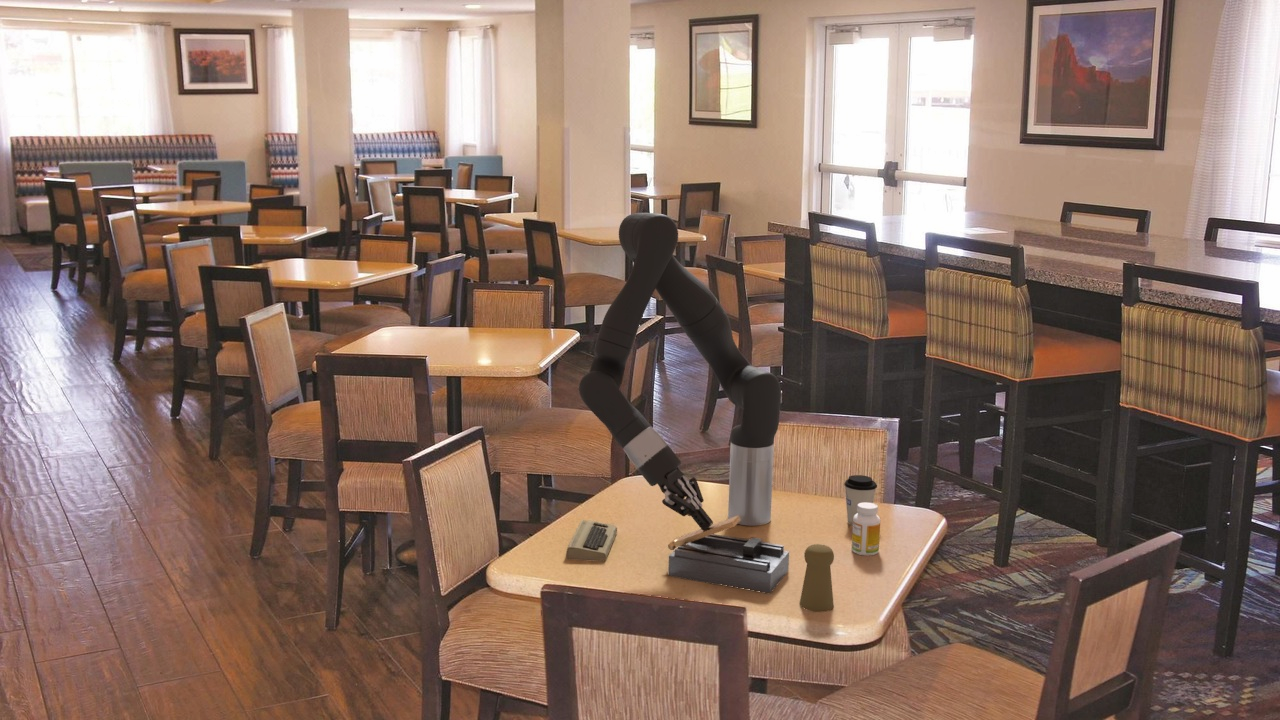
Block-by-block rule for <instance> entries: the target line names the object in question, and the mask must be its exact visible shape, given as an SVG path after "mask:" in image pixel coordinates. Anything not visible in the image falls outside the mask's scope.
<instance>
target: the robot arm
mask: <svg viewBox="0 0 1280 720" xmlns="http://www.w3.org/2000/svg"><path fill="white" fill-rule="evenodd" d="M678 229H679V228H678V226H677V224H676V222H675V221H674V220H673V219H672V217H670V216H668V215H666V214H662V213H654V212H635V213H631V214H628V215H627V216H626V217H625V218H623V219H622V221H621V223H620V225H619V228H618V239H619V243H620V246H621V248H622V251H623V252H624V253H625V254H626V256H627V257H628V258H629V259H630V260H631V261H632V263H633V267H632V268H631V272H630V274H629V277H627V280H626V282H625V283H624V285H623V287H622V289H621V290H620V291H619V293H618V294H617V296H616V297H615V298H614V299H613V301H612V303H611V304H610V306H609V308H608V310H607V311H606V313H605V315H604V317H603V320H602V322H601V326H600V329H599V330H598V334H597V338H596V340H595V345H594V349H593V350H594V351H593V352H594V357H593V359H592V363H591V366H590V369H589V372H588V373H586V374H584V375H583V377H581V379H580V382H579V385H578V394H579V395H580V399H581V400H582V402H583V403H584V405H585V406H586V407H587V408H589V410H590V411H591V413H593V415H594V416H595V417H597V419H598V420H599V421H600V422H601V423H602V424H603V425H605V427H606V429H607V430H608V431H609V432H610V434H611V436H612V437H613V438H614V439H615V441H616V442H617V443H618V445H619V446H620V448H621V449H623V451H624V453H625V454H626V455H627V458H628V460H630V462H631V463H632V464H633V465H634V467H635V469H637V471H638V472H639V473H640V475H642V477H643V478H644V480H645V481H646V482H647V483H648V484H649V485H650V486H651V487H655V486H656V485H658V486H659V488H660V491H661V492H662V493H663V494H664V498H663V499H662V501H661V502H662V504H663V505H664V506H665V507H667V508H669V509H670V510H672V511H674V512H675V513H677V514H679V515H680V516H682V517H686V516H689V517H691V518H692V519H693V521H694V522H695V523H696V524H697V525H698V526H699V528H700V529H702V530H706V529H707V528H709V527H710V526H711V525H713V524H714V521H713V520H712V518H711V517H710V516H709V515H708V513H707V512H706V511H705V510H704V508H703V503H704V498H703V495H702V491H701V489H700V485H699V483H698V481H697V479H696V478H695V477H694V476H692V477H691V478H687V476H686V474H685V473H684V472H682V470H680V469H679V466H681V464H682V461H681V459H680V458H679V457H678V456H677V454H676V453H675V452H674V451H673V449H672V448H671V447H670V446H669V444H668V443H667V442H666V440H664V438H663V437H662V435H660V433H659V432H657V431H656V430H655V429H654V428H653V426H652V425H651V424H650V423H649V422H648V420H647V419H646V418H645V416H644V415H643V414H642V413H641V412H640V410H638V409H637V408H636V407H635V406H634V405H633V404H631V402H629V400H628V398H627V397H626V396H625V394H624V393H623V392H622V390H621V387H622V383H623V379H624V375H625V370H626V365H627V361H628V359H629V357H630V354H631V350H632V348H633V345H634V342H635V339H636V336H637V334H638V330H639V328H640V325H641V322H642V319H643V317H644V314H645V312H646V309H647V307H648V306H649V303H650V300H651V298H652V296H653V294H654V292H655V290H656V292H657V294H658V295H659V297H660V298H661V299H662V301H663V302H664V304H665V305H666V307H667V308H668V310H669V311H670V313H671V314H672V315H673V317H674V319H675V320H676V321H677V323H678V325H679V326H680V328H681V329H682V331H683V332H684V334H685V335H687V337H688V339H689V340H690V341H691V342H692V344H693V345H694V347H695V348H696V349H697V350H698V352H699V354H700V355H701V356H702V358H703V359H704V360H705V361H706V363H708V365H709V367H710V368H711V370H712V371H713V374H714V375H715V377H716V378H717V380H718V383H719V384H720V387H721V388H722V390H723V392H724V395H726V397H727V398H728V400H729V401H730V402H731V403H732V404H733V405H734V406H736V407H737V408H740V409H742V413H741V421H740V422H741V423H740V424H738V425H736V426H733V428H731V431H730V453H729V482H728V507H727V508H728V509H727V510H728V511H727V512H728V513H727V519H730V518H732V517H735V516H738V515H739V517H740V519H741V520H740V521H739V522H738V523H737V524H736V525H740V526H753V527H755V526H763V525H766V524H768V523H770V522H771V520H772V519H771V518H772V500H773V499H772V497H773V474H774V448H775V445H774V444H775V437H776V434H777V432H778V429H779V425H780V415H781V414H780V413H781V405H782V388H781V384H780V381H779V379H778V377H777V376H776V375H774V373H772V372H769V371H766V370H764V369H761V368H758V367H755V366H754V365H753V364H751V362H750V361H749V360H748V359H747V358H746V356H745V355H744V354H743V353H742V352H741V350H740V349H739V347H738V346H737V343H736V342H735V340H734V336H733V331H732V327H731V326H732V325H731V321H730V319H729V316H728V314H727V313H726V310H725V309H724V307H723V306H722V305H721V303H720V302H719V300H718V299H717V297H716V296H715V294H714V293H713V292H712V290H710V289H709V287H707V286H706V285H705V284H704V282H702V281H701V280H700V279H699V278H698V277H697V276H695V275H694V274H693V273H692V272H691V271H689V270H688V269H687V268H685V267H684V266H683V265H682V264H681V263H680V262H679V261H678V259H677V258H676V257H675V256H674V252H675V251H676V247H677V246H678V242H679V230H678Z"/></svg>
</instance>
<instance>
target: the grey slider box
mask: <svg viewBox="0 0 1280 720" xmlns="http://www.w3.org/2000/svg"><path fill="white" fill-rule="evenodd" d="M784 548H785V545H784V544H776V543H771V542H764V541H763V539H762V538H759V537H750V539H746V538H740V537H733V536H728V535H720V534H717V533H715V534H712V535H709V536H706V537H704V538H701V539H698V540H695V541H692V542H690V543H687V544H684V545H681V546H678V547H676V548H675V549H674V550H672V552H671V553H670V554H669V555H668V567H667V568H668V570H667V571H668V572H667V573H668V574H667V576H668V577H674V578H680V579H684V580H689V581H690V580H691V581H695V582H701V583H706V582H708V584H712V583H713V585H717V584H722V585H721V586H723V585H727V586H726V587H728V586H733V587H732V588H734V587H738V588H737V589H739V588H744V589H743V590H745V589H750V590H749V591H751V590H754V591H753V592H756V591H760V592H759V593H762V592H765V593H764V594H767V593H770V594H771V593H772V592H773V591H774V590H775V589H776V587H777V586H778V585H779V583H780V582H781V581H782V580H783V579H784V577H786V575H787V574H788V572H789V565H790V551H787V550H785V549H784ZM777 584H778V585H777ZM773 589H774V590H773ZM772 590H773V591H772Z"/></svg>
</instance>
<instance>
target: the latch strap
mask: <svg viewBox="0 0 1280 720" xmlns="http://www.w3.org/2000/svg"><path fill="white" fill-rule="evenodd" d="M740 520H741V519H740V517H739V515H738V516H735V517H732V518H730V519H728V518H727V519H724V520H722V521H719V522H717V523H713V524H712V525H711V526H710V527H709V528H707V529H706V530H702V529H701V528H700V529H697V530H694V531H691V532H688V533H685V534H684V535H683V534H682V535H680V536H676V537H675V538H674V539H673V540H672V541H671V542H670V543H668V545H667V546H668V547H667V548H668V549H669V550H670V551H675V549H677V548H678V546H681V545H684V544H687V543H690V542H692V541H695V540H698V539H701V538H704V537H706V536H709V535H712V534H717V533H721V532H723V531H725V530H728V529H731V528H734V527H735V526H737V525H738V524H737V523H738V522H739V521H740Z"/></svg>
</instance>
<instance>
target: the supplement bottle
mask: <svg viewBox="0 0 1280 720" xmlns="http://www.w3.org/2000/svg"><path fill="white" fill-rule="evenodd" d="M878 507H879V506H878V504H876V503H875V502H873V503H868V502H863V503H859V504H858V506H857V512H858V513H857V514H855V515H854V517H853V526H852V536H851V551H852V552H854V553H855V554H857V555H860V556H875V555H877V554H878V553H879V551H880V536H881V535H880V532H881V518H880V516H879V515H877V514H878V511H879V509H878Z"/></svg>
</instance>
